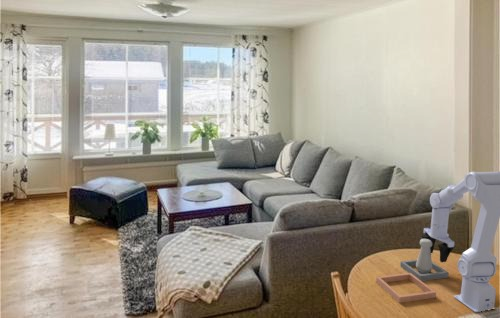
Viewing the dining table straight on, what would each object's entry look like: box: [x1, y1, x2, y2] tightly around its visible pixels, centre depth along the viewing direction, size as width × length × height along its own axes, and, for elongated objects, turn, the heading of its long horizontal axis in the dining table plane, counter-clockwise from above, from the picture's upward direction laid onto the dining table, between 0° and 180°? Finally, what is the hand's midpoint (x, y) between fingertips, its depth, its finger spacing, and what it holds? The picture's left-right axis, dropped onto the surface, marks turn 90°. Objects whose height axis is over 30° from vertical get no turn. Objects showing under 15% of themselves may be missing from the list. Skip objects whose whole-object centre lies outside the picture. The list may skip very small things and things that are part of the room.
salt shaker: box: [415, 238, 433, 274], centre depth 145 cm, size 6×6×13 cm
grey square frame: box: [400, 259, 449, 282], centre depth 146 cm, size 12×12×2 cm
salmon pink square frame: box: [375, 272, 437, 304], centre depth 133 cm, size 14×14×2 cm
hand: (436, 257), depth 146 cm, fingers open, 7 cm apart
